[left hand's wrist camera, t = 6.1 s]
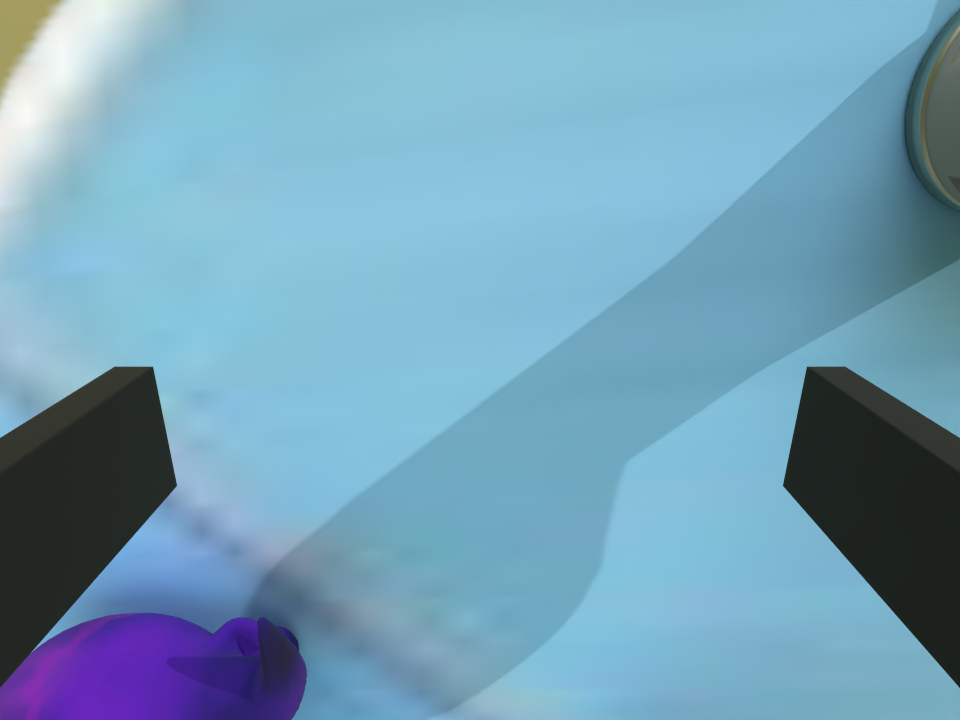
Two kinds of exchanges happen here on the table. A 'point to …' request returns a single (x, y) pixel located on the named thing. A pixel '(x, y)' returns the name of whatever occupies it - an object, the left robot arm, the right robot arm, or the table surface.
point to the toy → (159, 672)
